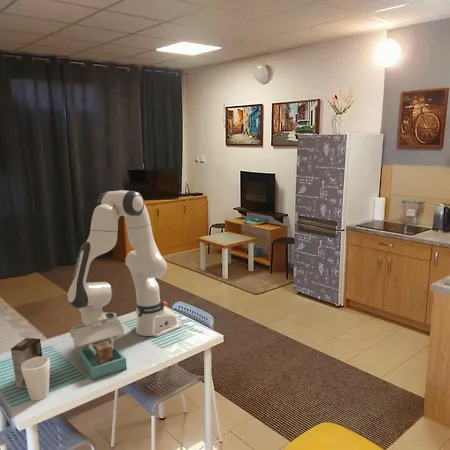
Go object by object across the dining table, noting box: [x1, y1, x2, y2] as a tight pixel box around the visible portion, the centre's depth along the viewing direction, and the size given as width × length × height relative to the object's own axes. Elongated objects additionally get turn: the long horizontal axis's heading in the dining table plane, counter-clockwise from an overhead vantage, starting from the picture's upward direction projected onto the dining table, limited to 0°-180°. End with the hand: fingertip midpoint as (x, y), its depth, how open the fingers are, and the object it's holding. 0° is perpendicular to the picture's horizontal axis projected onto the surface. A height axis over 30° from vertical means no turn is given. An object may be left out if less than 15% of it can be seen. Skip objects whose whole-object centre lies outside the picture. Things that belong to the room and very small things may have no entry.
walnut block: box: [94, 341, 113, 365], centre depth 168 cm, size 5×5×8 cm
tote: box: [77, 341, 128, 381], centre depth 172 cm, size 14×18×5 cm
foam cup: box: [21, 355, 51, 402], centre depth 152 cm, size 10×9×13 cm
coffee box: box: [10, 337, 43, 389], centre depth 161 cm, size 9×6×16 cm
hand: (103, 352), depth 168 cm, fingers closed on walnut block, 5 cm apart
